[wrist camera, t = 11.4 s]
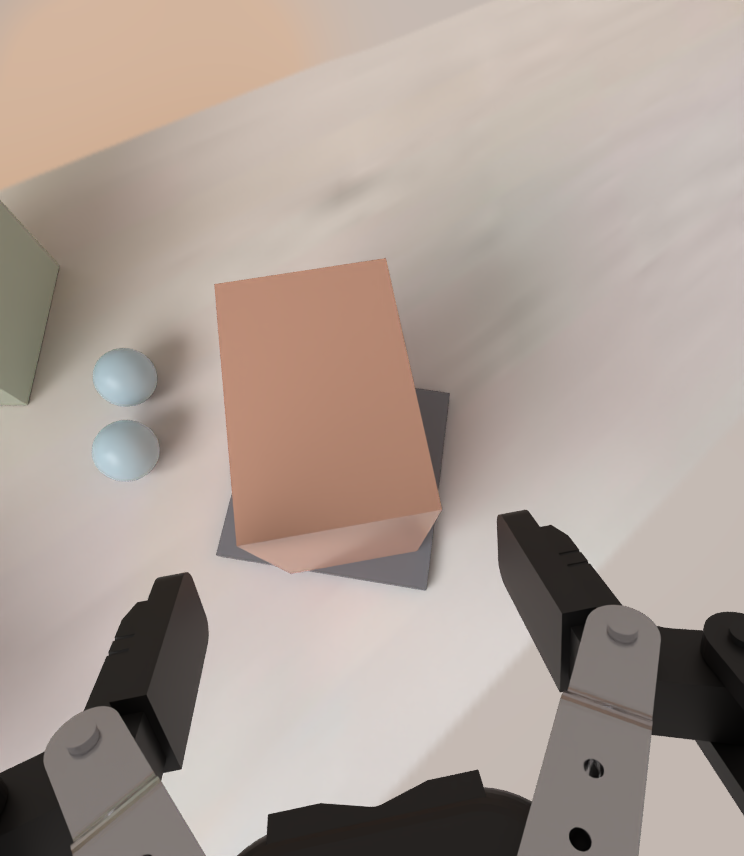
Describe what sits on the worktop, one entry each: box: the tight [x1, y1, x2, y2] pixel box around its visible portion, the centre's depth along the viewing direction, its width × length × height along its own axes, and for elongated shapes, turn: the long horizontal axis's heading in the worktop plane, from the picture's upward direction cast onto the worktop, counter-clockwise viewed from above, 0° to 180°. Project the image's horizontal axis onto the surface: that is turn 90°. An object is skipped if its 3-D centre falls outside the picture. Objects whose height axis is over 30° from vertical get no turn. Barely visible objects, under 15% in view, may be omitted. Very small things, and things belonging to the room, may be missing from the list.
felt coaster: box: [216, 388, 450, 590], centre depth 26 cm, size 10×10×1 cm
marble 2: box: [92, 420, 160, 481], centre depth 25 cm, size 3×3×3 cm
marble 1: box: [93, 348, 157, 407], centre depth 27 cm, size 3×3×3 cm
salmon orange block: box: [214, 258, 442, 574], centre depth 21 cm, size 9×6×10 cm, turn 10°
